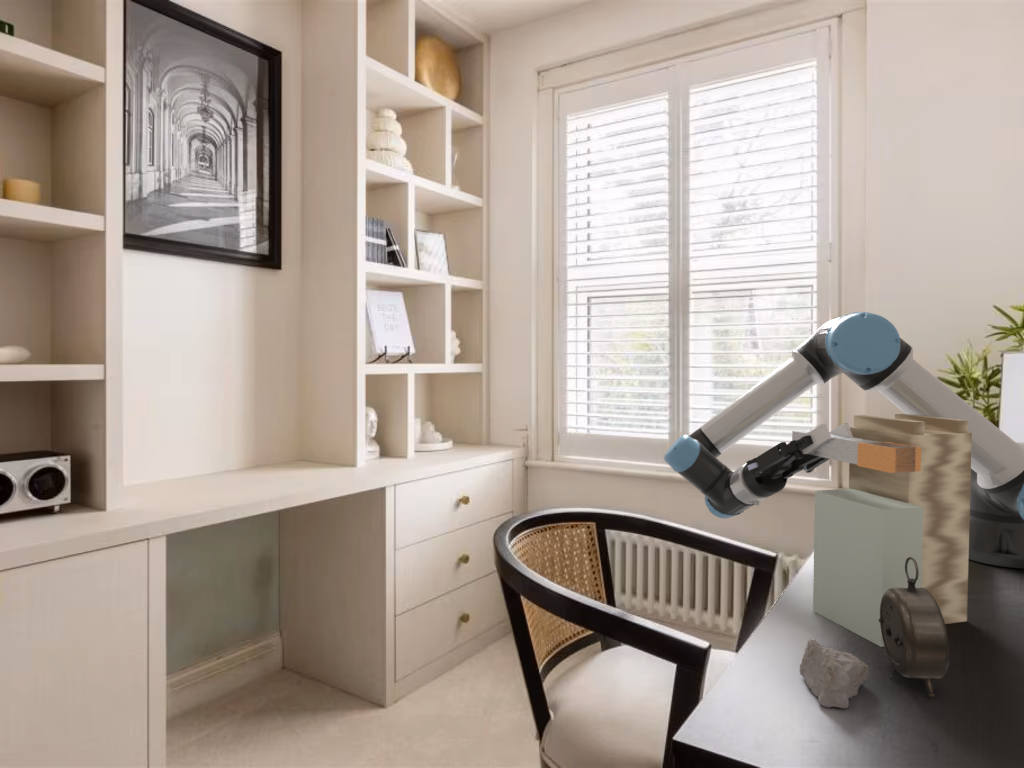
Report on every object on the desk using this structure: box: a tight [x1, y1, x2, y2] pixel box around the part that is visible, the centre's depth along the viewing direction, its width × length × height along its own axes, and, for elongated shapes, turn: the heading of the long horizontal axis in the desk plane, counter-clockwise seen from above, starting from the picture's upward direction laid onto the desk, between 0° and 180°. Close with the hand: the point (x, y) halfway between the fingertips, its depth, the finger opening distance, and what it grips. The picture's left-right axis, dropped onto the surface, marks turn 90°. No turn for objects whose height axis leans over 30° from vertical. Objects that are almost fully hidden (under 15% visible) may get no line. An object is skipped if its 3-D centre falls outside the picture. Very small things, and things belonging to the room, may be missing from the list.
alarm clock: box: [879, 557, 950, 699], centre depth 84 cm, size 11×5×16 cm, turn 168°
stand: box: [848, 413, 972, 625], centre depth 107 cm, size 12×12×32 cm
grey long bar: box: [791, 430, 921, 473], centre depth 104 cm, size 6×22×4 cm, turn 15°
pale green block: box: [812, 488, 923, 648], centre depth 101 cm, size 7×14×20 cm, turn 15°
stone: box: [799, 638, 870, 709], centre depth 81 cm, size 10×8×6 cm
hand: (837, 431), depth 106 cm, fingers closed on grey long bar, 3 cm apart
